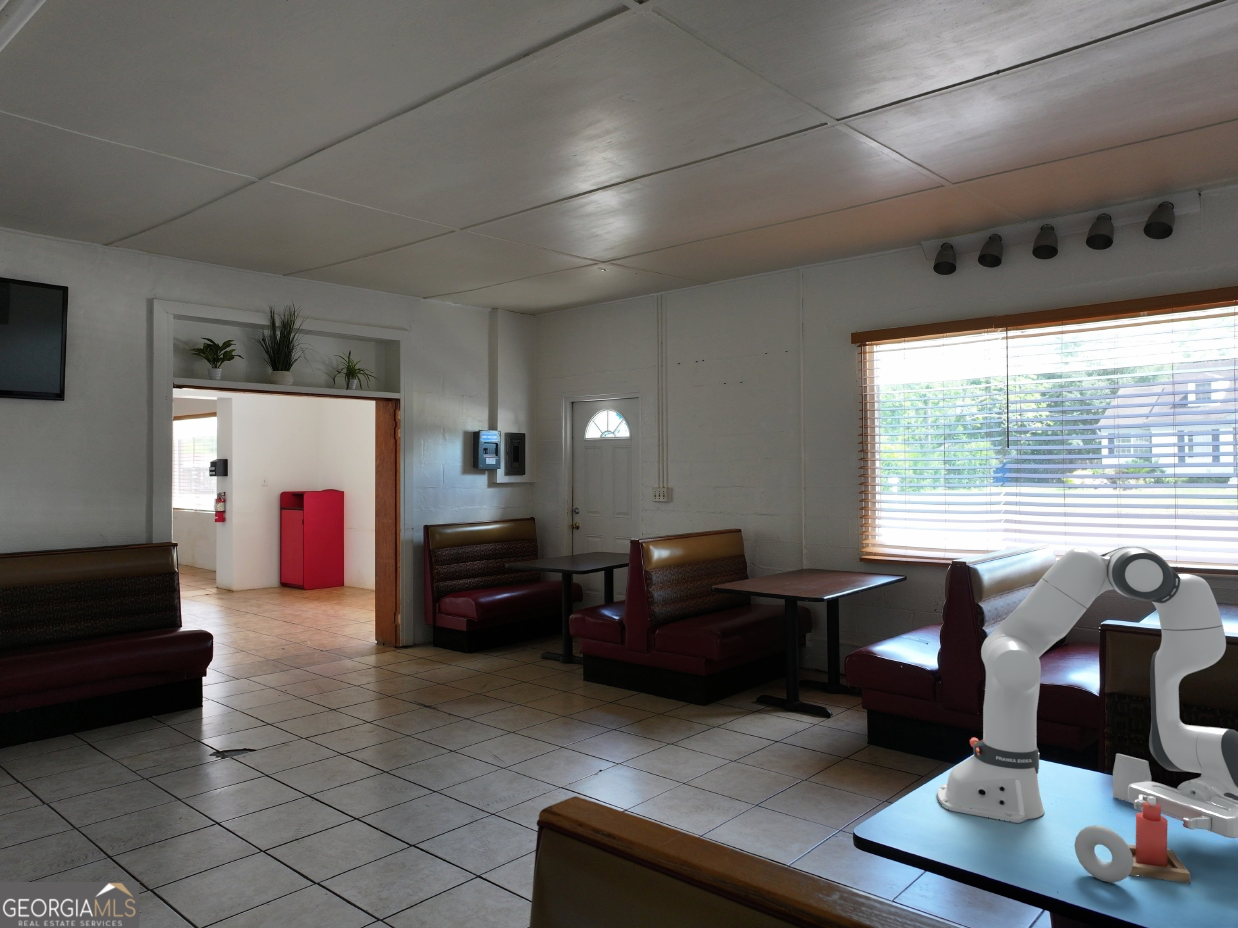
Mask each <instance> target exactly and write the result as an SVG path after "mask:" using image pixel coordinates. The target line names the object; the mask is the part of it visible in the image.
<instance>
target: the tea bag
mask: <svg viewBox="0 0 1238 928" xmlns="http://www.w3.org/2000/svg"><path fill="white" fill-rule="evenodd" d="M1151 774H1152V773H1151V771H1150V765H1149V761H1148V760H1145V759H1141V758H1136V757H1134V756H1129V755H1125V754H1121V753H1116V754H1115V761H1114V765H1113V769H1112V798H1113V797H1116V798H1120V799H1122V800H1121V801H1123V800H1126V801H1128V802H1127V803H1130V801H1129V799H1128V786H1129V785H1130V784H1132V783H1138V782H1146V781H1150V782H1152V775H1151ZM1116 798H1115V799H1116ZM1120 799H1119V800H1120ZM1126 801H1125V802H1126Z"/></svg>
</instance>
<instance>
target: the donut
mask: <svg viewBox="0 0 1238 928" xmlns="http://www.w3.org/2000/svg"><path fill="white" fill-rule="evenodd" d="M1098 845H1101V846H1103V847H1105V848H1107V850H1108V852H1110V854H1111V861H1109V862H1104V861H1103V860H1102V859H1100V858H1099V857H1098V855H1097V854H1096V852H1095V848H1096V846H1098ZM1128 845H1129V844H1128V843H1127V841H1125V840H1124V838H1123V837H1122V836H1121V835H1119V834H1118V833H1117V832H1116V831H1114V830H1112V829H1111V828H1109V827H1106V826H1102V825H1097V824H1095V825H1088V826H1086V827H1083V828H1082V829H1081V830H1080V831H1079V832H1078V834H1077V835H1076V837H1075V840H1074V851H1075V855H1076V858H1077V860H1078V863H1080V865H1081V866H1082V867H1083V869H1084V870H1085V871H1086V872H1087V873H1088V874H1090V875H1091V876H1092V877H1094V878H1096V879H1098V880H1100V881H1102V882H1106V883H1111V884H1112V883H1118V882H1122V881H1123V880H1126V879H1127V878H1128V876H1130V875H1129V874H1130V872H1131V871H1132V867H1133V857H1132V853H1131V851H1130V849H1129V846H1128Z"/></svg>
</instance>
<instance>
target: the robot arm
mask: <svg viewBox="0 0 1238 928" xmlns="http://www.w3.org/2000/svg"><path fill="white" fill-rule="evenodd" d="M1110 590H1114V591H1116V592H1117V593H1118V594H1121V595H1123V596H1125V597H1128V598H1129V599H1133V600H1136V601H1145V602H1150V603H1151V604H1153V605H1154V608H1155V609H1156V612H1157V614H1158V617H1159V618H1158V619H1159V624H1160V629H1161V642H1160V646H1159V649H1158V650H1156V651H1155V652H1153V654H1152V657H1151V660H1150V661H1151V662H1150V673H1149V674H1150V676H1149V677H1150V680H1149V682H1150V708H1151V709H1150V711H1151V713H1150V714H1151V717H1150V718H1151V723H1150V732H1149V737H1148V738H1149V740H1148V741H1149V742H1148V746H1149V750H1150V753H1151V755H1152V757H1153V758H1154V759H1155V760H1156V762H1157V763H1158V764H1159V765H1160V766H1162V767H1163V768H1164V769H1165V770H1168V771H1170V772H1171V771H1172V772H1185V773H1186V772H1190V773H1198V774H1201V775H1200V776H1199V777H1197V778H1194V779H1193V778H1192V779H1190V780H1186V781H1183V782H1182V783H1180V784H1179V785H1178V786H1177V788H1175V787H1171V786H1170V785H1165V784H1162V783H1159V782H1155V781H1151V782H1150V781H1146V782H1138V783H1132V784H1130V785H1129V786H1128V799H1129V801H1130V802H1131V804H1133V809H1134V810H1137V811H1140V812H1143V802H1147V797H1148V796H1153V797H1155V798H1156V804H1158V805H1160V806H1161V815H1164V816H1167V817H1170V818H1172V819H1175V820H1178V821H1181V822H1182V823H1183V824H1182V826H1183V828H1185V829H1189V830H1192V831H1193V830H1196V829H1197V830H1206V831H1208V832H1211V833H1214V834H1217V835H1219V836H1222V837H1224V838H1229V839H1237V838H1238V731H1236V730H1235V729H1230V728H1224V727H1223V728H1221V727H1214V726H1213V727H1212V726H1202V725H1201V726H1200V725H1192V724H1191V725H1189V724H1185V723H1183V722H1182V720H1181V718H1180V697H1179V696H1180V695H1179V693H1180V691H1179V690H1180V689H1179V686H1180V683H1181V681H1182V679H1184V677H1186V676H1187V675H1189V674H1192V673H1196V672H1199V671H1201V670H1204V669H1206V668H1209V667H1210V666H1213V665H1215V664H1216V663H1217V662H1219V660H1221V658H1223V656H1224V654H1225V651H1226V649H1227V648H1226V647H1227V639H1226V632H1225V629H1224V624H1223V621H1222V617H1221V613H1220V608H1219V607H1218V604H1217V601H1216V599H1215V596H1214V593H1213V591H1212V589H1211V587H1210V585H1209V583H1208V582H1207V581H1206V580H1205V579H1204V578H1203V577H1201V576H1198V575H1194V574H1189V573H1177V572H1176V571H1175V570H1174V569H1173V568H1172V567H1171V565H1170V564H1169V563H1168V562H1167V561H1166V560H1165V559H1164V558H1163V557H1161V555H1159V554H1157V553H1156V552H1154V551H1152V550H1149V549H1148V548H1145V547H1141V546H1122V547H1119V548H1116V549H1113V550H1111V551H1107V552H1105V553H1103V554H1098V553H1096V552H1094V550H1091V549H1090V550H1089V549H1088V548H1083V547H1081V548H1080V547H1077V548H1073V549H1070V550H1068V551H1067V552H1066V553H1065V554H1064V555H1062V556H1061V557H1060V558H1058V560H1057V561H1055V563H1054V564H1052V565H1051V567H1050V568H1049V569H1048V570H1047V571H1046V572H1045V573H1044V575H1043V576H1042V577H1040V579H1039V580H1038V582H1037V583H1036V584H1035V585H1034V586H1033V588H1032V589H1031V590H1030V592H1029V593H1028V594H1027V595H1026V596H1025V598H1024V599H1023V601H1021V603H1019V604H1018V606H1017V607H1016V608H1015V609H1014V610H1013V611H1012V612H1011V613H1010V614H1009V615H1007V617H1006V618H1005V619H1004V620H1003V621H1001V623H999V625H998V626H997V627H996V628H994V630H993V631H992V632H991V633H990V634H988V636H987V637H986V638H985V639H984V642H983V643H982V645H981V650H980V653H981V654H980V657H981V660H982V662H983V664H984V669H985V690H984V698H983V699H984V700H983V706H982V708H983V710H982V712H983V713H982V714H983V715H982V717H983V718H982V720H983V722H982V723H983V725H982V727H983V729H982V731H983V734H982V735H983V737H982V739H981V740H979V739H978V738H976V737H971V739H969V744H970V746H971V747H972V748H973V755H972V756H971V757H969V758H967V759H966V760H964V761H962V762H960V763H959V764H956V765H954V767H952V769H951V770H950V772H949V775H948V778H947V783H946V784H943V785H940V786H939V787H938V789H937V791H936V792H937V793H936V798H937V801H938V800H939V801H938V803H939V802H940V803H941V804H942V805H941V804H940V803H939V804H940V805H941V806H942V807H943V806H944V807H945V809H946V810H948V809H949V810H948V811H950V812H951V811H952V812H957V813H962V814H968V815H972V816H977V817H978V816H979V817H983V818H988V817H989V818H988V819H994V820H999V819H1000V821H1004V820H1005V822H1009V821H1011V822H1010V823H1015V824H1019V823H1023V822H1025V821H1027V820H1031V819H1036V818H1040V817H1041V816H1043V815H1044V814H1045V808H1044V806H1043V805H1044V804H1043V802H1042V801H1043V800H1042V798H1041V792H1040V787H1039V780H1038V778H1039V777H1038V774H1039V770H1040V752H1039V748H1038V746H1037V718H1038V717H1037V714H1038V713H1037V711H1038V705H1039V704H1038V703H1039V696H1040V686H1041V672H1042V668H1041V667H1042V666H1041V665H1042V664H1041V660H1040V657H1041V656H1042V655H1043V654H1044V653H1045V652H1046V651H1048V650H1049V649H1050V648H1051V647H1052V646H1053V645H1054V644H1056V642H1058V641H1060V640H1061V639H1064V638H1065V636H1066V635H1067V634H1068V633H1069V632H1070V631H1071V629H1072V628H1073V627H1074V626H1075V625H1076V624H1077V622H1078V620H1080V618H1082V616H1083V614H1084V613H1086V611H1087V610H1088V609H1089V608H1090V607H1091V605H1092V603H1093V602H1094V601H1095V599H1096V598H1098V597H1099V596H1100V595H1101V594H1102V593H1104V592H1106V591H1110ZM1130 802H1129V803H1130ZM944 807H943V808H944Z"/></svg>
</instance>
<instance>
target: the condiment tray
mask: <svg viewBox="0 0 1238 928" xmlns="http://www.w3.org/2000/svg"><path fill="white" fill-rule="evenodd" d="M1127 845H1128V846H1129V849H1130V851H1131V853H1132V857H1133V867H1132V871H1131V872H1130V874H1129V875H1128V876H1132V875H1139V876H1143V877H1142V878H1147V877H1151V878H1150V879H1154V878H1155V879H1156V880H1162V879H1166V880H1165V881H1170V880H1172V881H1171V882H1177V881H1179V883H1185V882H1188V883H1187V884H1191V873H1190V872H1189V870H1188V869H1187V868H1186V866H1185V865H1184V864H1183V862H1182V861H1181V860H1180V859H1179V857H1178V856H1177V855H1176V852H1175V851H1173V849H1168V848H1167V867H1161V866H1153V865H1145V864H1138V863H1136V844H1135V845H1134V844H1127ZM1139 876H1138V877H1139Z"/></svg>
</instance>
